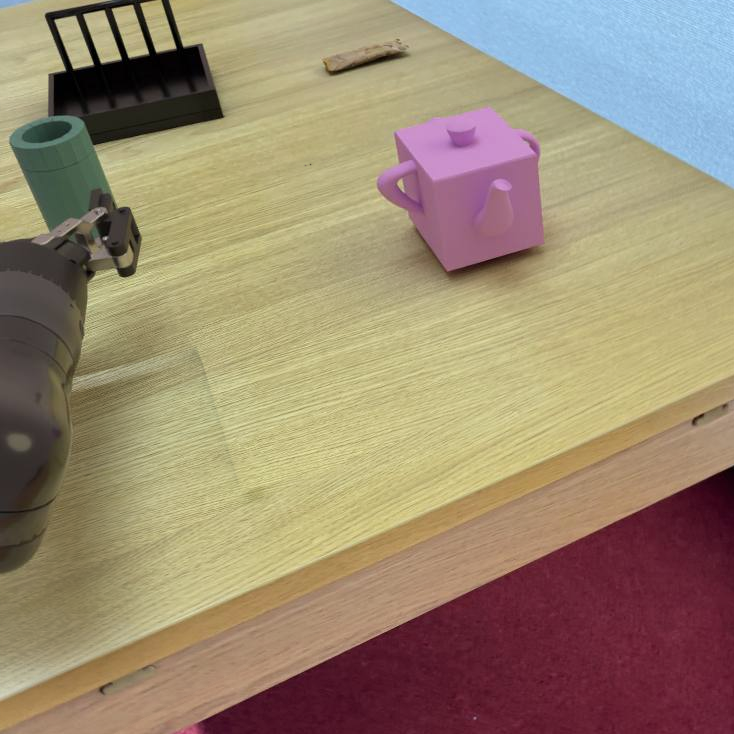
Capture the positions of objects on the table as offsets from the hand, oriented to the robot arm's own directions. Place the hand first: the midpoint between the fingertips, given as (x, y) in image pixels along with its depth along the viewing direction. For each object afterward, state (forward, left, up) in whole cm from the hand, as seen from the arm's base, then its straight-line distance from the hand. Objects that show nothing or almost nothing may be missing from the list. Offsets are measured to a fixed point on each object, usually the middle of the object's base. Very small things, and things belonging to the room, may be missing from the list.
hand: (44, 210), depth 81 cm
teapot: (+32, -5, -9) cm, 33 cm away
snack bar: (+32, +39, -9) cm, 51 cm away
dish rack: (+6, +39, -9) cm, 41 cm away
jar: (+1, +10, -9) cm, 13 cm away
